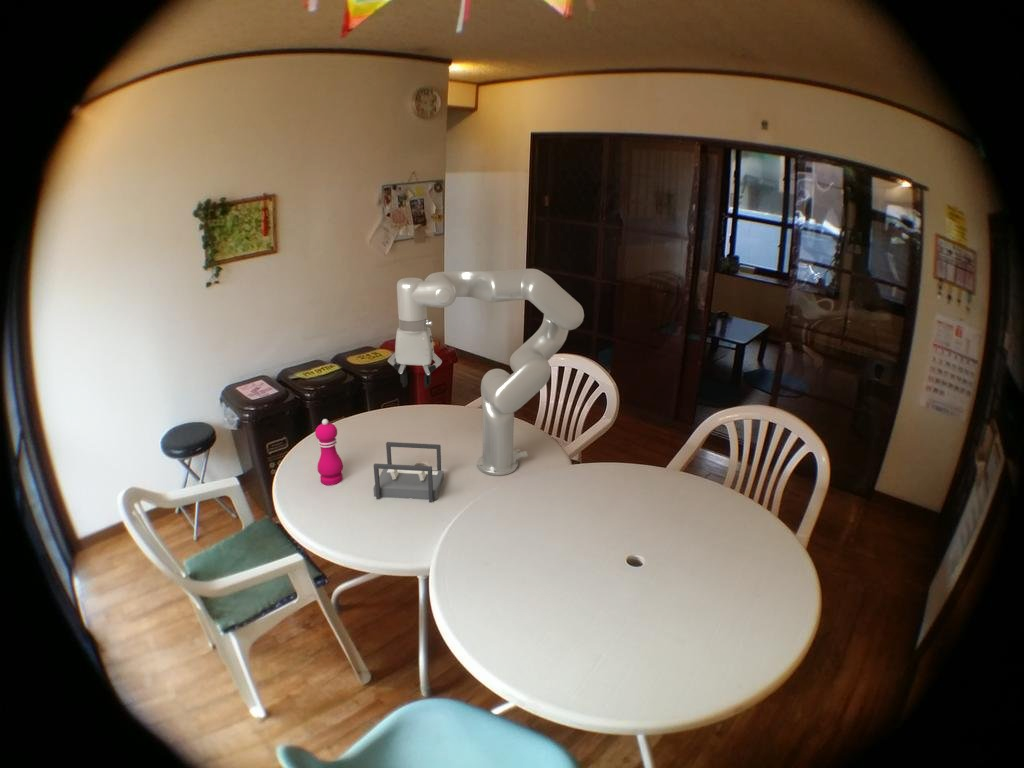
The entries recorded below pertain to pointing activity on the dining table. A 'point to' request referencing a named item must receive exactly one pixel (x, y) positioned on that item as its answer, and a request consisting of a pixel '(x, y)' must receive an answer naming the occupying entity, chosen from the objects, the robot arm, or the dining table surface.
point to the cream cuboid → (422, 475)
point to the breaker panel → (409, 484)
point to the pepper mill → (328, 454)
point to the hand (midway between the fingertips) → (416, 385)
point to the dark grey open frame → (407, 467)
